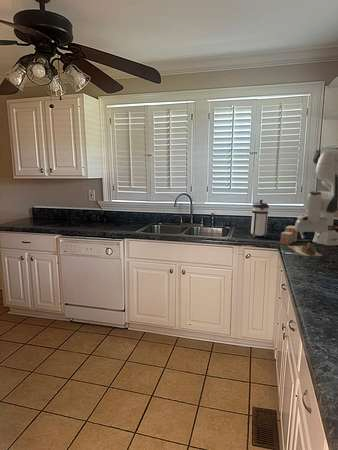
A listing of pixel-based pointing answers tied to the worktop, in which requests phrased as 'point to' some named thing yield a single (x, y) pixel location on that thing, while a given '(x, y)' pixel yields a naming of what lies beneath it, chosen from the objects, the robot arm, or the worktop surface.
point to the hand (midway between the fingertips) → (310, 238)
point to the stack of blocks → (288, 235)
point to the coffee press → (259, 219)
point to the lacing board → (299, 250)
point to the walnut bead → (308, 250)
